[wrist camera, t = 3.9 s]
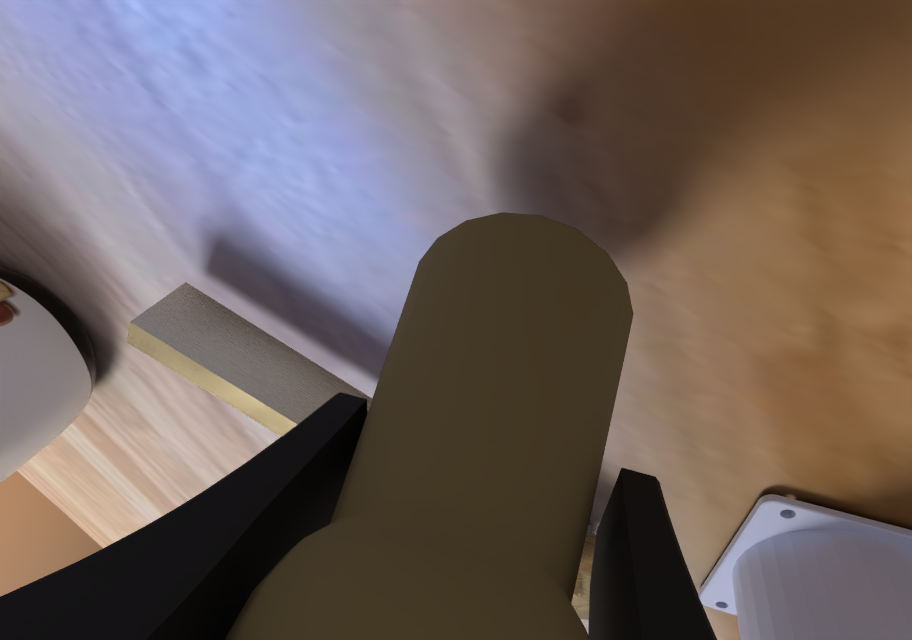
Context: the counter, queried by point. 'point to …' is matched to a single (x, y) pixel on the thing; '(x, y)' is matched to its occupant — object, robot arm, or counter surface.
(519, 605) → the brown rounded piece
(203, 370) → the bar
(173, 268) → the counter surface
